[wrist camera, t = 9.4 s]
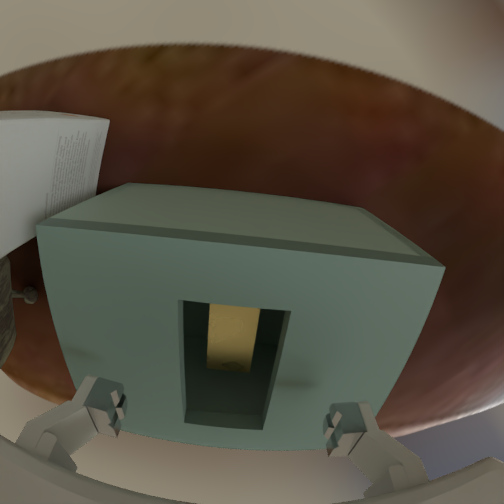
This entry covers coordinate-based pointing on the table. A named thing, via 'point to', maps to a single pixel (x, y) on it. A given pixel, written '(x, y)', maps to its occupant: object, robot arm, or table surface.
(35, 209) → the small box
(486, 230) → the table surface
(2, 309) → the tabletop clock
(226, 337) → the wooden yellow block
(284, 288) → the coin box
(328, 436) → the robot arm
